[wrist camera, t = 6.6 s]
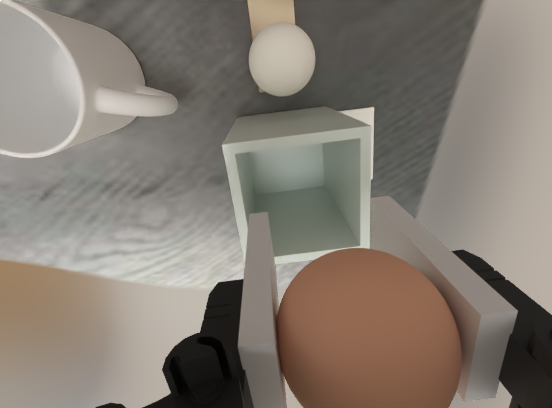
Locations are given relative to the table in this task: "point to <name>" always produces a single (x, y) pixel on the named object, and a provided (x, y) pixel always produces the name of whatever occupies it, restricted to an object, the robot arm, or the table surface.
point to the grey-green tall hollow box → (302, 180)
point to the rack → (269, 14)
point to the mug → (66, 83)
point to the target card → (366, 117)
